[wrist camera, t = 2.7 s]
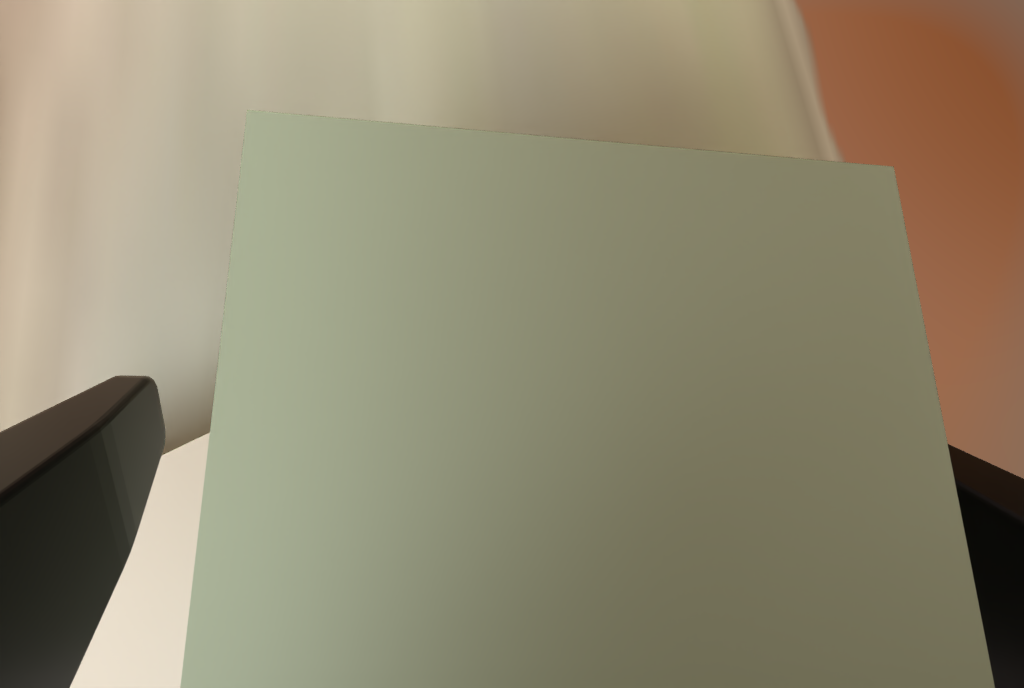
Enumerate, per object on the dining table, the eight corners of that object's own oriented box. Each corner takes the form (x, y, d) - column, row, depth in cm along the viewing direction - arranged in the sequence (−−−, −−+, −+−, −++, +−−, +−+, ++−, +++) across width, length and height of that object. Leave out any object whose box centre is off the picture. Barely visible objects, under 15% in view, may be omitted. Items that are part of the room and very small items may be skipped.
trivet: (764, 730, 15) (816, 759, 13) (285, 1115, 12) (263, 1225, 10) (518, 304, 17) (532, 276, 15) (46, 536, 14) (-10, 537, 12)
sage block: (585, 636, 13) (1036, 903, 4) (337, 646, 13) (141, 1013, 3) (575, 398, 15) (894, 166, 5) (350, 394, 14) (247, 109, 4)
